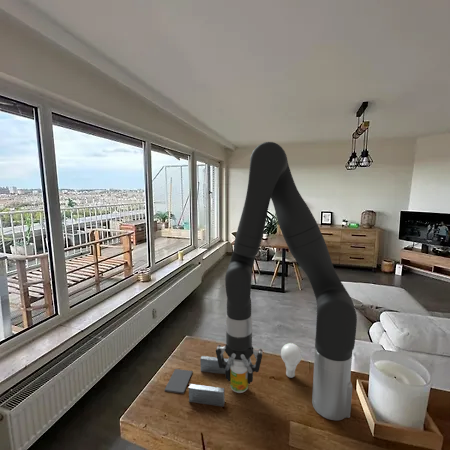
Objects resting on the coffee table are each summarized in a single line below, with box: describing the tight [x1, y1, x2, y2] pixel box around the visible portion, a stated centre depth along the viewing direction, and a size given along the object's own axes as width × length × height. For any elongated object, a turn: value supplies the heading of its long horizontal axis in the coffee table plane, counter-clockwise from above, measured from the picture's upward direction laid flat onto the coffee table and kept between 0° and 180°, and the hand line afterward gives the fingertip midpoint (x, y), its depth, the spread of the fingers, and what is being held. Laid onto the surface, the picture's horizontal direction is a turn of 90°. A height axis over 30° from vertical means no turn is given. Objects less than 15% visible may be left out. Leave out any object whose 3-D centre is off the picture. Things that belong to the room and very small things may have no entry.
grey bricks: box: [188, 355, 228, 407], centre depth 82 cm, size 10×14×4 cm
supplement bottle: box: [229, 359, 249, 394], centre depth 80 cm, size 5×5×10 cm
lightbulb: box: [280, 342, 303, 378], centre depth 85 cm, size 6×6×11 cm
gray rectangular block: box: [164, 368, 193, 395], centre depth 84 cm, size 6×9×1 cm, turn 170°
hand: (239, 380), depth 80 cm, fingers closed on supplement bottle, 5 cm apart
